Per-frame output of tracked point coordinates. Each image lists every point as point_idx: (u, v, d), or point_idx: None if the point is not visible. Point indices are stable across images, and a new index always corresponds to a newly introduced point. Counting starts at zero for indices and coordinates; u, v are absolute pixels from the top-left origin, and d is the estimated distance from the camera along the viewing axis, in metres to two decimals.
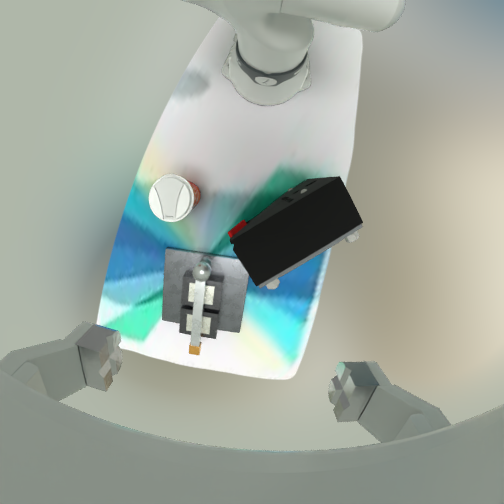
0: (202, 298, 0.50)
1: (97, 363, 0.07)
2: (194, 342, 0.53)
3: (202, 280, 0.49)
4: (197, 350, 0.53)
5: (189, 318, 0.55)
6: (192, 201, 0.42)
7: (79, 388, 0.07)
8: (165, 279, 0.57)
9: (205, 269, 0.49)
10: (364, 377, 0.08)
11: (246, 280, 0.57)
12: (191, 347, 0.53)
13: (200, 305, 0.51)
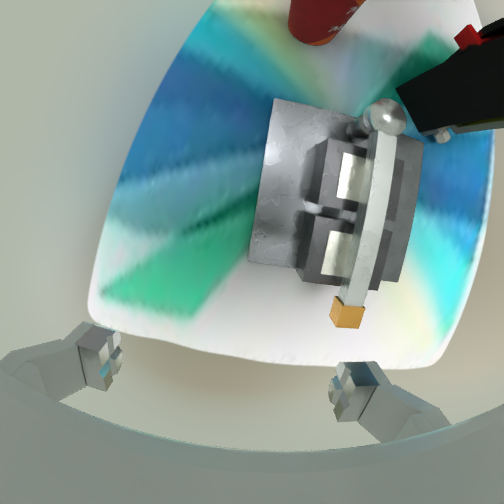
0: (390, 176, 0.19)
1: (97, 363, 0.07)
2: (355, 295, 0.21)
3: (393, 132, 0.18)
4: (359, 316, 0.22)
5: (334, 242, 0.24)
6: None
7: (79, 388, 0.07)
8: (267, 162, 0.26)
9: (399, 110, 0.17)
10: (364, 377, 0.08)
11: (418, 175, 0.26)
12: (346, 309, 0.21)
13: (384, 195, 0.19)
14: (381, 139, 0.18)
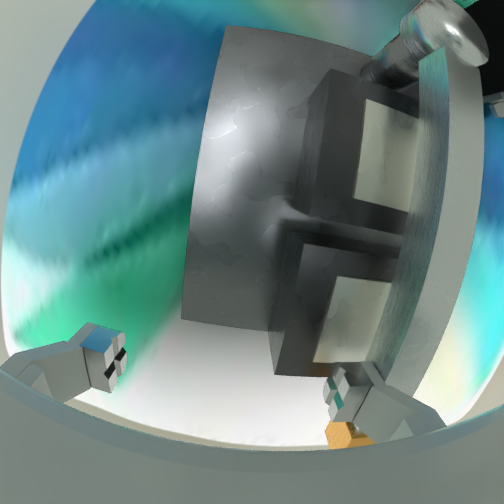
0: (480, 152, 0.06)
1: (102, 365, 0.07)
2: None
3: (473, 57, 0.05)
4: None
5: (346, 300, 0.10)
6: None
7: (83, 390, 0.07)
8: (210, 133, 0.13)
9: (470, 21, 0.04)
10: (359, 377, 0.08)
11: None
12: (359, 442, 0.08)
13: (472, 197, 0.06)
14: (454, 65, 0.05)
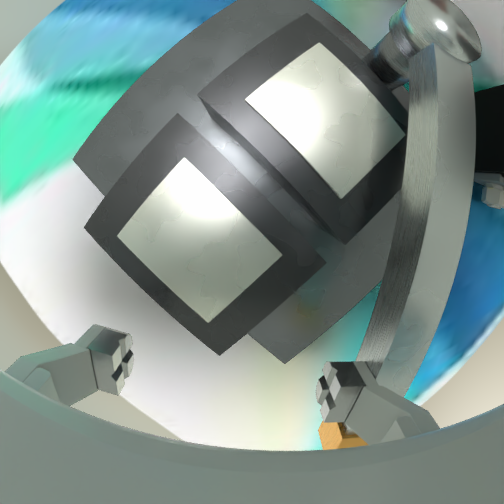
0: (471, 151, 0.06)
1: (110, 367, 0.07)
2: None
3: (464, 54, 0.05)
4: None
5: (178, 189, 0.09)
6: None
7: (90, 392, 0.07)
8: (197, 33, 0.11)
9: (462, 17, 0.04)
10: (351, 378, 0.08)
11: None
12: (350, 442, 0.08)
13: (462, 197, 0.06)
14: (443, 62, 0.05)
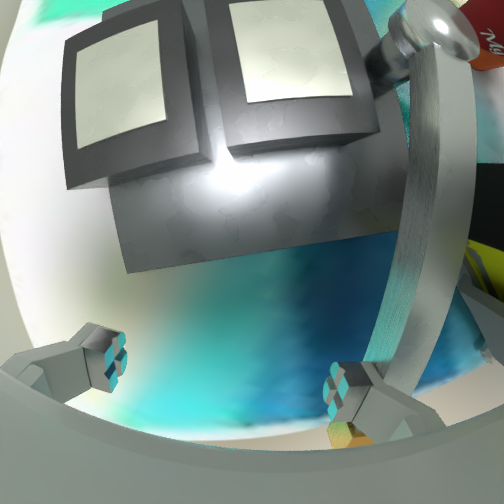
0: (473, 149, 0.06)
1: (102, 365, 0.07)
2: None
3: (464, 52, 0.05)
4: None
5: (136, 37, 0.08)
6: None
7: (84, 390, 0.07)
8: None
9: (460, 15, 0.04)
10: (359, 377, 0.08)
11: (354, 231, 0.14)
12: (359, 440, 0.08)
13: (466, 195, 0.06)
14: (444, 61, 0.05)
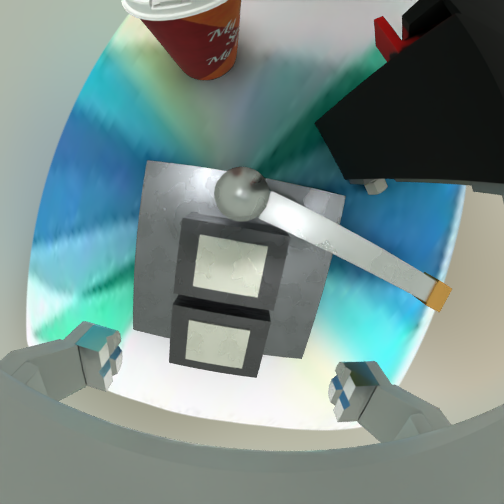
0: (320, 218, 0.16)
1: (97, 363, 0.07)
2: (423, 288, 0.18)
3: (265, 196, 0.16)
4: (443, 287, 0.17)
5: (195, 331, 0.21)
6: None
7: (79, 388, 0.07)
8: (140, 235, 0.24)
9: (233, 175, 0.15)
10: (365, 377, 0.08)
11: None
12: (430, 301, 0.18)
13: (340, 233, 0.17)
14: (271, 217, 0.16)
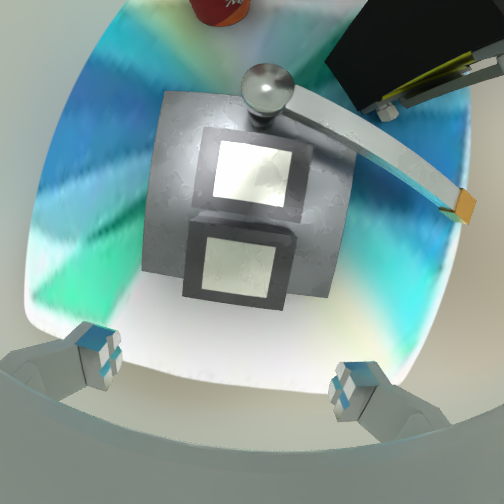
0: (344, 111, 0.15)
1: (97, 363, 0.07)
2: (450, 195, 0.16)
3: (290, 87, 0.14)
4: (467, 197, 0.16)
5: (214, 251, 0.20)
6: None
7: (79, 388, 0.07)
8: (155, 162, 0.22)
9: (259, 70, 0.14)
10: (365, 377, 0.08)
11: (351, 164, 0.23)
12: (458, 210, 0.16)
13: (365, 126, 0.15)
14: (297, 107, 0.15)
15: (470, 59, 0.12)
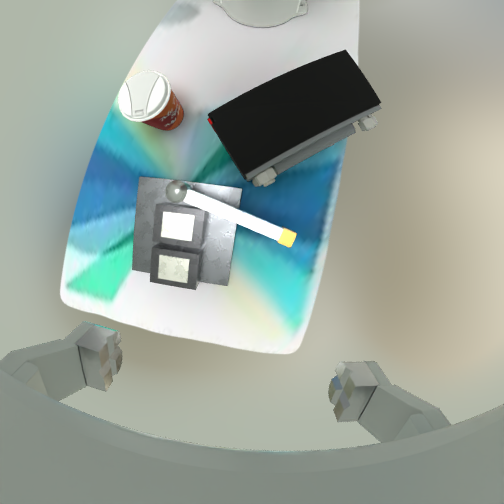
0: (209, 199, 0.37)
1: (97, 363, 0.07)
2: (274, 232, 0.39)
3: (185, 192, 0.37)
4: (288, 232, 0.38)
5: (162, 261, 0.43)
6: (168, 95, 0.30)
7: (79, 388, 0.07)
8: (137, 215, 0.45)
9: (172, 184, 0.36)
10: (365, 378, 0.08)
11: None
12: (280, 240, 0.39)
13: (219, 205, 0.38)
14: (188, 200, 0.37)
15: None
